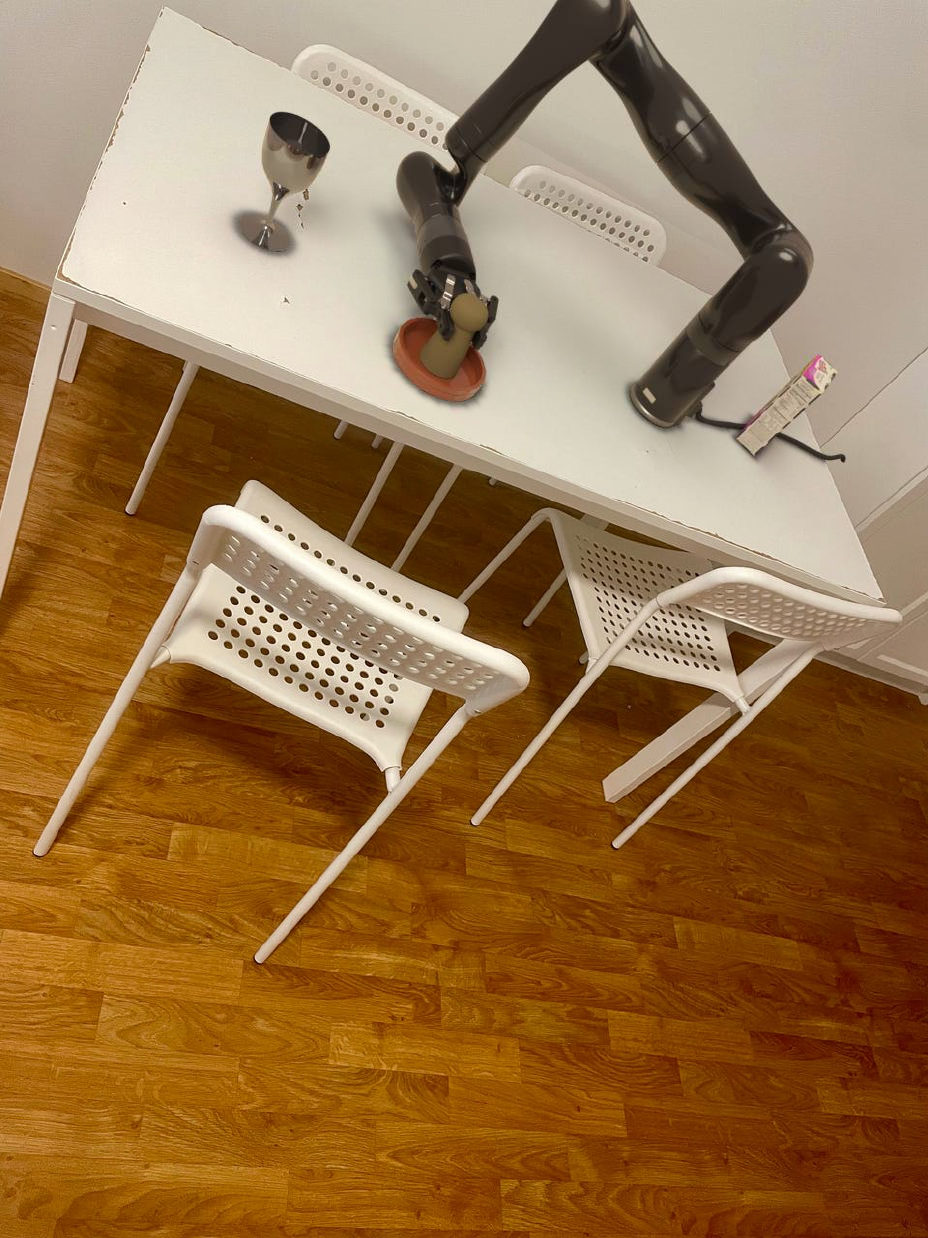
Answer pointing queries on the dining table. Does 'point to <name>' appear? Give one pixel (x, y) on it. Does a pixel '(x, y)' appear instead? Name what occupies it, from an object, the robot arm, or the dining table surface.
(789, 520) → the dining table surface
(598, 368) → the dining table surface
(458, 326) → the brown game pawn
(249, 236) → the silver goblet
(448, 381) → the dish
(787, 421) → the candy bar box
